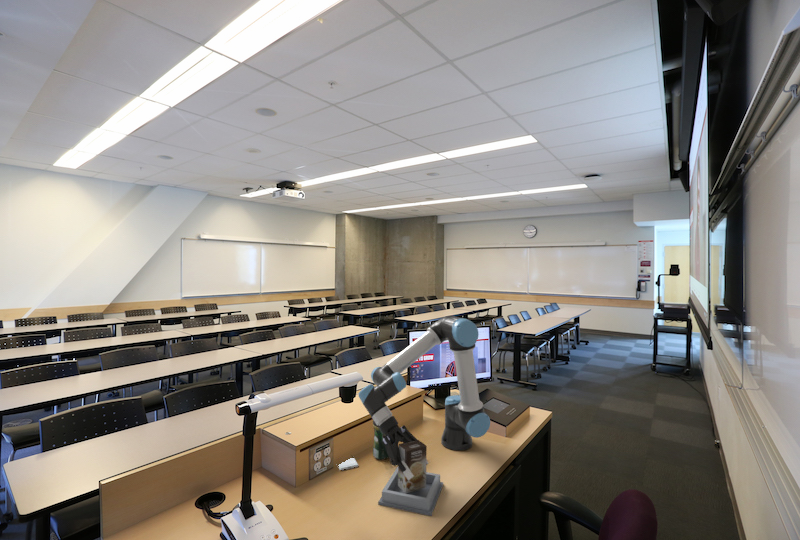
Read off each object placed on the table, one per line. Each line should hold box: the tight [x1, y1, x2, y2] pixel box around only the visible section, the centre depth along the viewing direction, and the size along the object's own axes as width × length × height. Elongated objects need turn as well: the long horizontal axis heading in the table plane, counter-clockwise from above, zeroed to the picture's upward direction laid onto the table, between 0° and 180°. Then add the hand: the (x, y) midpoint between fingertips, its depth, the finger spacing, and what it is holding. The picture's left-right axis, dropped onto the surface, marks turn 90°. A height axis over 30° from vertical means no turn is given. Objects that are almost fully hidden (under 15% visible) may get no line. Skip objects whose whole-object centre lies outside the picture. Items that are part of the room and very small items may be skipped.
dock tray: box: [377, 466, 444, 517], centre depth 145 cm, size 20×20×4 cm
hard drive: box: [337, 457, 359, 471], centre depth 168 cm, size 2×8×12 cm
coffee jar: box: [372, 419, 389, 460], centre depth 174 cm, size 10×8×19 cm
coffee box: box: [397, 439, 428, 493], centre depth 145 cm, size 9×6×16 cm
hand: (418, 471), depth 143 cm, fingers closed on coffee box, 10 cm apart
